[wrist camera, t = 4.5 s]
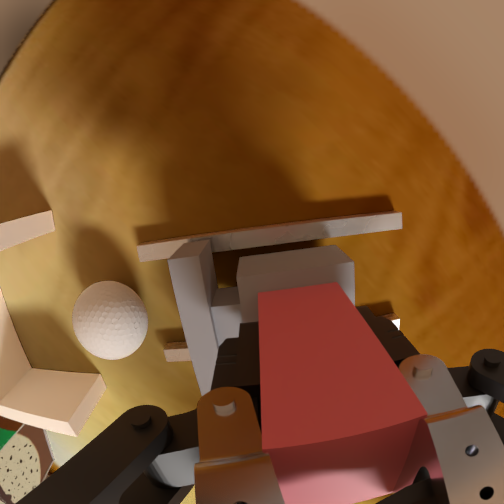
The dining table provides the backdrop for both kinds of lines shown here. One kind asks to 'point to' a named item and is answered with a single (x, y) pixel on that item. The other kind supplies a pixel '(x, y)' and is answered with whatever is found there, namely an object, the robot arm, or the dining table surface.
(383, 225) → the track
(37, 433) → the food container
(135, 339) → the sports ball
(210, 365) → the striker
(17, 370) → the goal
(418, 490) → the robot arm
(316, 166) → the dining table surface
